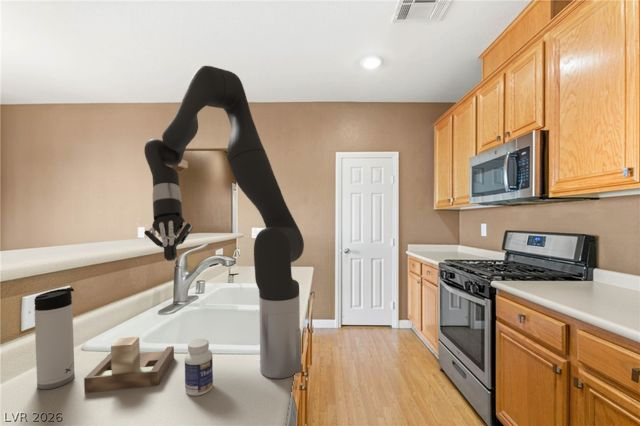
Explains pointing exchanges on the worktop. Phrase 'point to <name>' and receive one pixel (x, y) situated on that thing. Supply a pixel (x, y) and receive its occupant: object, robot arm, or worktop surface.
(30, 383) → the worktop surface
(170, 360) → the box
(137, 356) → the birch block
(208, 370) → the pill bottle
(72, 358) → the travel mug
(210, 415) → the worktop surface
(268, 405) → the worktop surface
